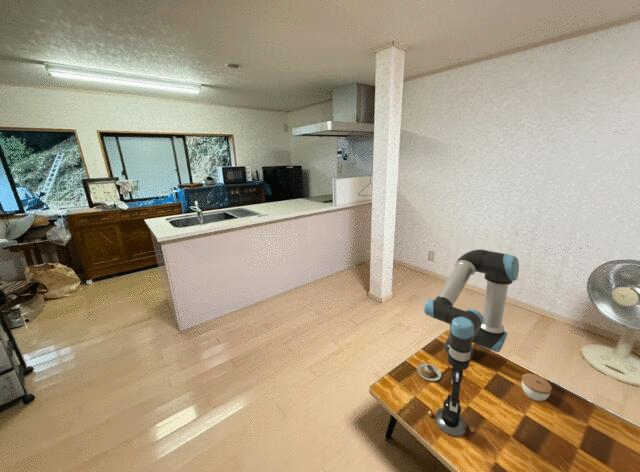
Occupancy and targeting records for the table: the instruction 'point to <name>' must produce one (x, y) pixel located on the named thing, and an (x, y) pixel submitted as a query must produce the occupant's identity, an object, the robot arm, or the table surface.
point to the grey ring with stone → (429, 371)
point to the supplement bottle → (450, 414)
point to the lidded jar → (536, 387)
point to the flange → (451, 431)
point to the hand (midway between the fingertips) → (453, 396)
